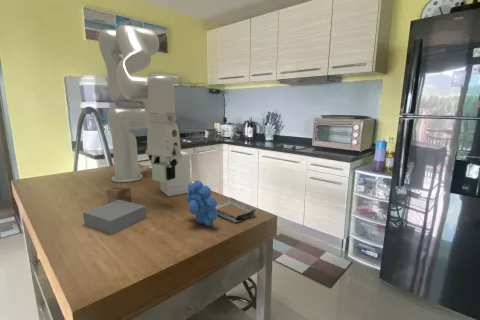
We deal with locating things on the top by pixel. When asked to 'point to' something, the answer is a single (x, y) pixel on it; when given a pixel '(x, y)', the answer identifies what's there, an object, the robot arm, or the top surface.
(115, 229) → the base block
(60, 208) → the top surface
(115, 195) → the walnut cube
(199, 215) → the grapes
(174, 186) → the supplement box
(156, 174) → the sage cube
